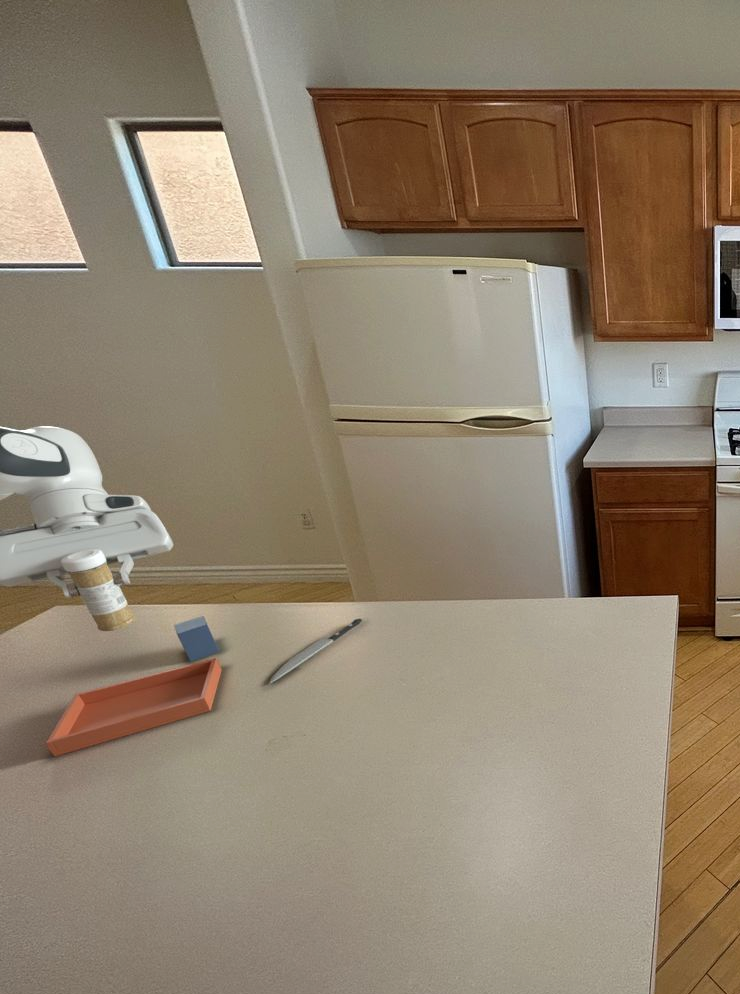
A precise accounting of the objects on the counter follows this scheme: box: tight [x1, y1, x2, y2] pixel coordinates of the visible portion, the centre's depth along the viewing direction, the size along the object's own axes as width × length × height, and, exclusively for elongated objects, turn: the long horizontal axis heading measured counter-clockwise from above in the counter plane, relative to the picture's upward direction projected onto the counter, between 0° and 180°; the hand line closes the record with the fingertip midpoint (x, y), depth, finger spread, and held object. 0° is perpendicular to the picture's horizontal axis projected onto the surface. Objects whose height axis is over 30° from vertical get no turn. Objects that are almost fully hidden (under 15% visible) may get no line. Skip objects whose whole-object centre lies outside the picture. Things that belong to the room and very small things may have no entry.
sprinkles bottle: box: [61, 549, 136, 632], centre depth 91 cm, size 5×5×13 cm
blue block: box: [173, 615, 220, 663], centre depth 99 cm, size 4×4×6 cm
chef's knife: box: [268, 618, 363, 685], centre depth 101 cm, size 19×1×3 cm
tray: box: [45, 657, 223, 757], centre depth 87 cm, size 17×12×3 cm
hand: (99, 589), depth 90 cm, fingers closed on sprinkles bottle, 4 cm apart
